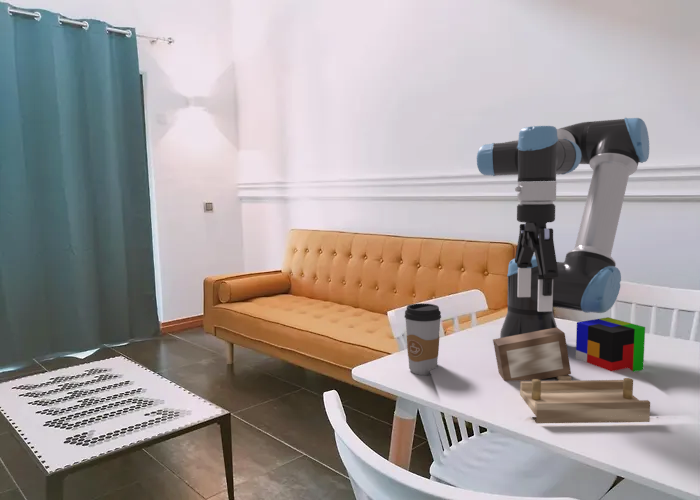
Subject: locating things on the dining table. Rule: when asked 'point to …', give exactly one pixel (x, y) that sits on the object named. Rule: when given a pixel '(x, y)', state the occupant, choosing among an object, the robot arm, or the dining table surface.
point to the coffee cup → (422, 337)
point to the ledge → (584, 401)
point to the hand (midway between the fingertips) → (533, 303)
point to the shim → (564, 378)
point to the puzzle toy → (611, 344)
